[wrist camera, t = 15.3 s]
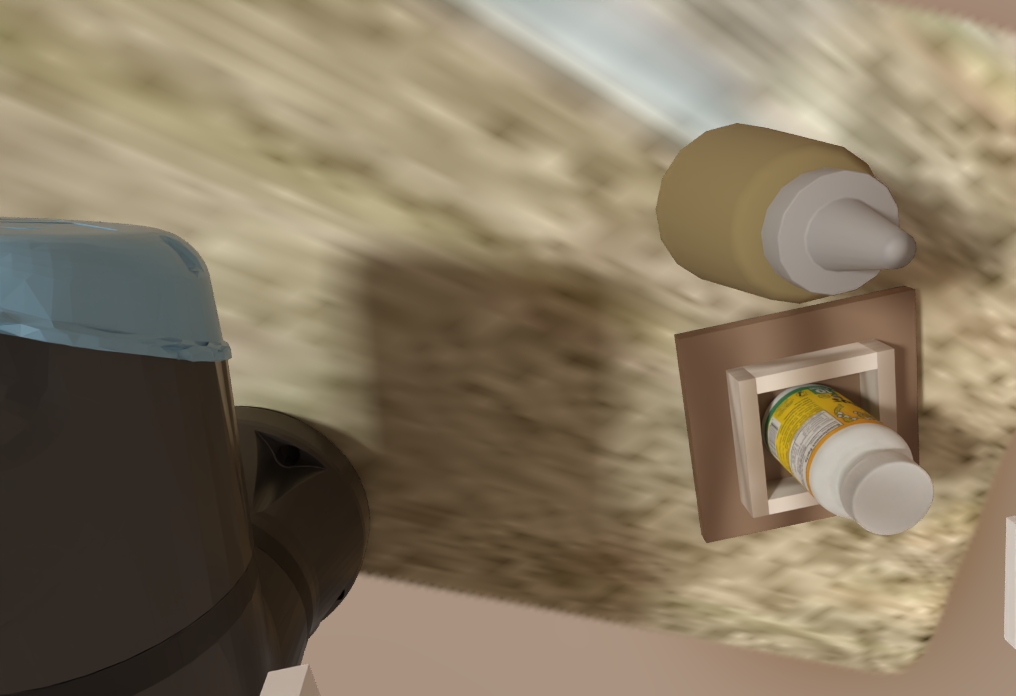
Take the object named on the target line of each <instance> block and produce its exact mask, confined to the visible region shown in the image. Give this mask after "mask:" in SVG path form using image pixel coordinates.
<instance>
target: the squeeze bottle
mask: <svg viewBox="0 0 1016 696" xmlns="http://www.w3.org/2000/svg"><path fill="white" fill-rule="evenodd" d="M656 214H657V220H658V225H659V231H660V236H661V240H662V242H663V243H664V245H665V246H666V248H667V249H668V251H669V252H670V254H671V255H672V257H673V258H674V260H675V261H676V263H677V264H678V265H680V266H682V267H683V268H685V269H686V270H688V271H690V272H691V273H693V274H694V275H696V276H698V277H699V278H701V279H704V280H707V281H710V282H714V283H717V284H721V285H724V286H727V287H731V288H734V289H737V290H741V291H744V292H747V293H751V294H754V295H757V296H761V297H764V298H768V299H771V300H778V301H785V302H792V303H799V304H800V303H804V302H808V301H812V300H816V299H820V298H824V297H828V296H834V295H838V294H842V293H845V292H849V291H853V290H856V289H858V288H859V287H861V286H862V285H864V284H865V283H867V282H868V281H870V280H871V279H873V278H874V277H876V276H877V275H878V273H879V272H880V271H881V269H898V268H901V267H904V266H905V265H907V264H908V263H910V261H911V260H912V259H913V257H914V255H915V252H916V242H915V241H914V239H913V237H912V236H910V235H909V234H907V233H906V232H905V231H903V230H902V229H900V228H899V215H898V206H897V204H896V202H895V200H894V199H893V197H892V195H891V193H890V191H889V189H888V188H887V186H886V185H884V184H883V183H881V182H880V181H878V180H877V179H876V178H875V177H874V175H873V173H872V171H871V169H870V168H869V166H868V164H867V163H865V162H864V161H863V160H861V159H860V158H858V157H857V156H855V155H854V154H853V153H851V152H850V151H848V150H847V149H846V148H844V147H842V146H838V145H833V144H829V143H825V142H821V141H817V140H813V139H809V138H805V137H801V136H797V135H793V134H789V133H785V132H781V131H777V130H773V129H769V128H764V127H757V126H751V125H745V124H739V123H736V124H732V125H729V126H725V127H721V128H717V129H713V130H709V131H706V132H705V133H703V134H702V135H701V136H699V137H698V138H697V139H695V140H694V141H693V142H691V143H690V144H689V145H687V146H686V147H684V148H683V149H682V150H680V152H679V153H678V155H677V156H676V158H675V159H674V161H673V163H672V164H671V166H670V167H669V169H668V170H667V172H666V173H665V175H664V177H663V178H662V182H661V187H660V192H659V196H658V201H657V206H656Z"/></svg>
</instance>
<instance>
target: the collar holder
mask: <svg viewBox="0 0 1016 696" xmlns="http://www.w3.org/2000/svg"><path fill="white" fill-rule="evenodd" d="M675 343H676V350H677V357H678V365H679V372H680V380H681V387H682V394H683V402H684V409H685V416H686V424H687V431H688V438H689V446H690V453H691V460H692V468H693V475H694V483H695V490H696V497H697V505H698V512H699V519H700V527H701V534H702V536H703V538H704V539H705V541H706V543H709V542H714V541H718V540H723V539H728V538H733V537H737V536H742V535H747V534H752V533H757V532H761V531H766V530H771V529H776V528H780V527H785V526H790V525H795V524H799V523H804V522H809V521H814V520H818V519H823V518H828V517H833V516H837V515H835V514H833V513H831V512H829V511H828V510H826V509H825V508H824V507H823V506H821V505H820V504H819V503H818V502H817V500H816V499H815V498H814V497H813V496H812V495H811V494H810V493H809V492H808V491H807V490H806V489H805V488H804V487H803V486H802V485H801V484H800V483H799V482H798V481H797V479H796V478H795V477H794V476H793V475H792V474H791V473H790V472H789V471H788V470H787V469H786V468H785V467H784V466H783V465H782V464H781V463H780V462H779V461H778V460H777V459H776V458H775V457H774V456H773V455H772V454H771V453H770V451H769V450H768V449H767V447H766V445H765V443H764V440H763V437H762V421H763V417H764V414H765V412H766V409H767V407H768V406H769V405H770V403H771V402H772V401H773V400H774V399H775V398H776V397H777V396H778V395H779V394H780V393H782V392H783V391H784V390H786V389H788V388H790V387H793V386H798V385H803V384H820V385H824V386H827V387H829V388H831V389H833V390H835V391H836V392H838V393H840V394H841V395H842V396H844V397H845V398H847V399H848V400H850V401H851V402H853V403H854V404H856V405H857V406H858V407H860V408H861V409H863V410H864V411H866V412H867V413H869V414H870V415H871V416H873V417H874V418H876V419H877V420H879V421H880V422H882V423H883V424H885V425H886V426H887V427H889V428H890V429H892V430H893V431H895V432H896V433H897V434H898V435H900V436H901V437H902V438H903V439H904V441H905V442H906V443H907V445H908V446H909V448H910V451H911V453H912V456H913V461H914V462H915V463H917V464H918V465H919V437H918V396H917V355H916V315H915V289H912V288H909V287H906V286H902V287H897V288H892V289H888V290H883V291H878V292H874V293H869V294H864V295H859V296H855V297H850V298H845V299H841V300H836V301H831V302H826V303H822V304H817V305H812V306H807V307H803V308H798V309H793V310H789V311H784V312H779V313H774V314H770V315H765V316H760V317H756V318H751V319H746V320H741V321H737V322H732V323H727V324H723V325H718V326H713V327H708V328H704V329H699V330H694V331H689V332H685V333H680V334H675Z"/></svg>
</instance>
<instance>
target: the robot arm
mask: <svg viewBox="0 0 1016 696" xmlns="http://www.w3.org/2000/svg"><path fill="white" fill-rule="evenodd" d="M230 358H232V354H231V349H230V347H229V344H228V343H227V342H225V341H224V340H223V338H222V333H221V328H220V323H219V319H218V314H217V309H216V304H215V299H214V294H213V290H212V285H211V280H210V275H209V272H208V269H207V266H206V264H205V262H204V260H203V259H202V257H201V256H200V255H199V253H198V252H197V251H196V250H195V249H194V248H193V247H192V246H191V245H190V244H189V243H188V242H186V241H185V240H183V239H182V238H180V237H178V236H177V235H175V234H173V233H170V232H167V231H164V230H160V229H157V228H152V227H146V226H138V225H129V224H119V223H107V222H93V221H79V220H61V219H41V218H16V217H0V696H320V694H319V691H318V688H317V685H316V682H315V679H314V677H313V674H312V671H311V668H310V666H309V664H305V665H301V661H302V658H303V655H304V651H305V648H306V645H307V641H308V639H309V638H310V636H311V635H312V634H313V633H314V632H315V631H316V629H317V628H318V626H319V624H320V622H321V621H322V620H324V619H325V618H326V617H327V616H328V615H329V614H330V613H331V612H333V611H334V609H335V608H336V607H337V606H338V605H339V604H340V603H341V602H342V600H343V599H344V598H345V597H346V595H347V594H348V592H349V591H350V589H351V587H352V586H353V584H354V582H355V580H356V578H357V576H358V573H359V571H360V568H361V565H362V562H363V558H364V554H365V550H366V546H367V542H368V536H369V527H370V517H369V508H368V502H367V498H366V494H365V491H364V488H363V486H362V483H361V481H360V479H359V477H358V475H357V473H356V471H355V470H354V468H353V467H352V465H351V464H350V462H349V461H348V460H347V458H346V457H345V456H344V455H343V454H342V452H341V451H340V450H339V449H338V448H337V447H336V446H335V445H334V444H333V443H332V442H330V441H329V440H328V439H327V438H326V437H324V436H323V435H322V434H320V433H319V432H318V431H316V430H314V429H313V428H311V427H310V426H308V425H306V424H304V423H302V422H300V421H298V420H296V419H294V418H291V417H289V416H286V415H283V414H280V413H277V412H274V411H269V410H265V409H259V408H252V407H234V400H233V393H232V386H231V379H230V372H229V365H228V359H230ZM1005 564H1006V565H1005V616H1004V617H1005V618H1004V639H1005V640H1006V641H1007V642H1009V643H1010V644H1011V645H1012V646H1013V647H1014V648H1015V649H1016V515H1015V516H1010V517H1007V518H1006V563H1005Z"/></svg>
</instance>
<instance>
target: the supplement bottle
mask: <svg viewBox="0 0 1016 696" xmlns="http://www.w3.org/2000/svg"><path fill="white" fill-rule="evenodd" d="M762 437H763V440H764V443H765V445H766V447H767V449H768V450H769V451H770V453H771V454H772V455H773V456H774V457H775V458H776V459H777V460H778V461H779V462H780V463H781V464H782V465H783V466H784V467H785V468H786V469H787V470H788V471H789V472H790V473H791V474H792V475H793V476H794V477H795V478H796V479H797V481H798V482H799V483H800V484H801V485H802V486H803V487H804V488H805V489H806V490H807V491H808V492H809V493H810V494H811V495H812V496H813V497H814V498H815V499H816V500H817V502H818V503H819V504H820V505H821V506H823V507H824V508H825V509H826V510H828V511H829V512H831V513H833V514H835V515H837V516H840V517H844V518H849V519H854V520H855V521H856V522H857V523H858V524H859V525H860V526H861V527H863V528H864V529H865V530H867V531H869V532H871V533H875V534H879V535H892V534H897V533H900V532H903V531H905V530H908V529H909V528H911V527H913V526H914V525H915V524H917V523H918V522H919V521H920V520H921V519H922V518H923V517H924V516H925V514H926V513H927V511H928V510H929V508H930V506H931V503H932V501H933V494H934V489H933V483H932V481H931V478H930V476H929V475H928V473H927V472H926V471H925V470H924V469H923V468H922V467H920V466H919V465H918V464H917V463H915V462H914V461H913V456H912V453H911V451H910V448H909V446H908V445H907V443H906V442H905V441H904V439H903V438H902V437H901V436H900V435H898V434H897V433H896V432H895V431H893V430H892V429H890V428H889V427H887V426H886V425H885V424H883V423H882V422H880V421H879V420H877V419H876V418H874V417H873V416H871V415H870V414H869V413H867V412H866V411H864V410H863V409H861V408H860V407H858V406H857V405H856V404H854V403H853V402H851V401H850V400H848V399H847V398H845V397H844V396H842V395H841V394H840V393H838V392H836V391H835V390H833V389H831V388H829V387H827V386H824V385H820V384H803V385H798V386H793V387H790V388H788V389H786V390H784V391H783V392H782V393H780V394H779V395H778V396H777V397H776V398H775V399H774V400H773V401H772V402H771V403H770V405H769V406H768V407H767V409H766V412H765V414H764V417H763V421H762Z"/></svg>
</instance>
